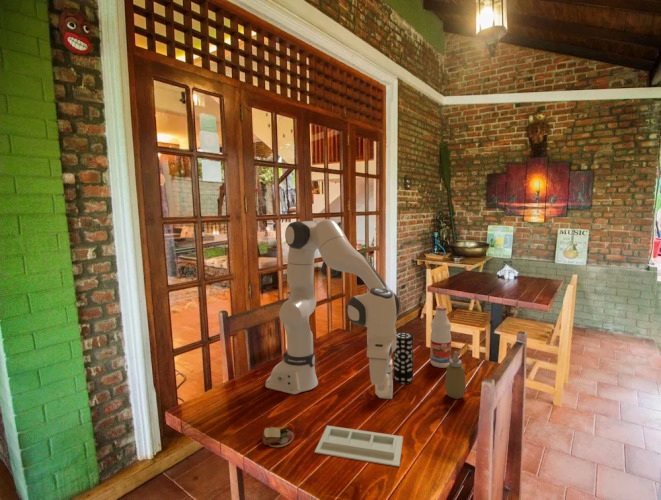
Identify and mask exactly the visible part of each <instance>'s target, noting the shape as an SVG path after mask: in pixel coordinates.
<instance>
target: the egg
mask: <svg viewBox="0 0 661 500" xmlns="http://www.w3.org/2000/svg"><path fill="white" fill-rule="evenodd" d="M374 387H375V388H374V391H375V392H374V393H375V395H376V396H377V397H378V396H380V397H386V396H388V395H389V394H390V382H389V375H388V373H387V375H386V378H385V382H384V390H383V391H378V387H377V385H374Z"/></svg>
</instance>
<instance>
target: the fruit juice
mask: <svg viewBox="0 0 661 500" xmlns="http://www.w3.org/2000/svg"><path fill="white" fill-rule="evenodd" d="M447 310H448V309H447V307H446V306H444V305H436V306H435V314H434V317H433V319H432V321H431V322H430V327H431V331H430V332H431V333H430V347H429V348H430V352H429V353H430V354H429V355H430V359H429V360H430V364H431V365H432V366H433V367H437V368H443V369H444V368H447V365H449V362H450V359H452V335H451V328H452V324H451V322H450V319H449V317H448V315H447Z"/></svg>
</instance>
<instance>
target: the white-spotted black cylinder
mask: <svg viewBox="0 0 661 500" xmlns="http://www.w3.org/2000/svg"><path fill="white" fill-rule="evenodd" d="M413 381H414V334H412V333H409V332H403V331H400V332H396V349H395V350H394V351H393V382H396V383H398V384H401V385H409V384H412V383H413Z"/></svg>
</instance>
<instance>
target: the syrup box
mask: <svg viewBox="0 0 661 500" xmlns="http://www.w3.org/2000/svg"><path fill="white" fill-rule="evenodd" d="M387 373H388V375H389V382H390V394H389V395H388V396H386V397H380V396H377V397H378V398H379V399H387V400H389V399H390V400H392V399H393V395H394V368H393V358H391V360H390V364H389V367H388V371H387Z"/></svg>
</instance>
